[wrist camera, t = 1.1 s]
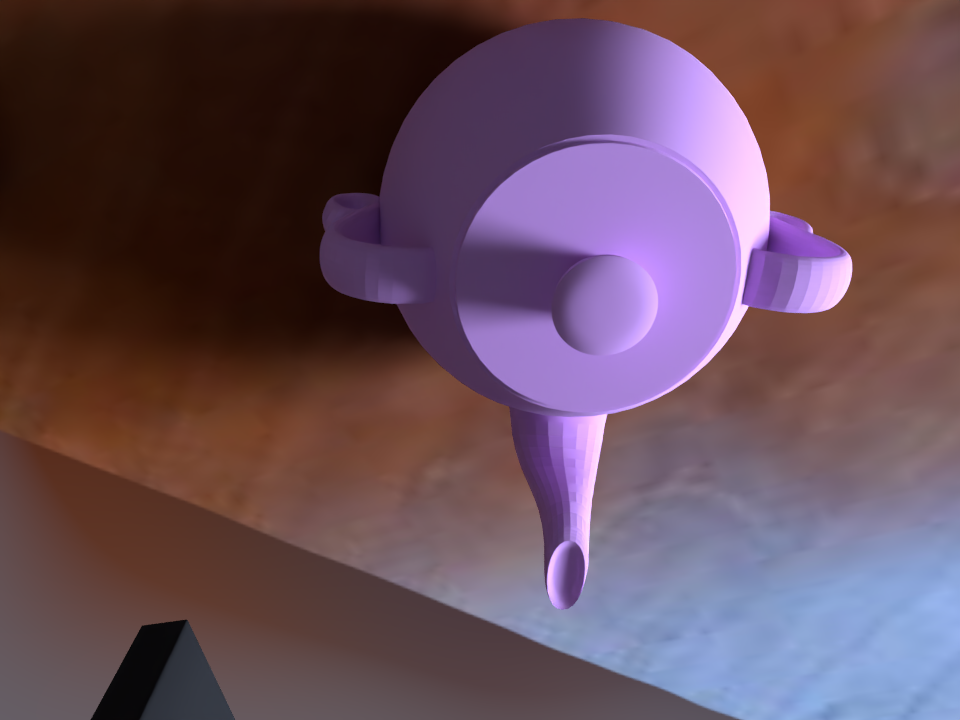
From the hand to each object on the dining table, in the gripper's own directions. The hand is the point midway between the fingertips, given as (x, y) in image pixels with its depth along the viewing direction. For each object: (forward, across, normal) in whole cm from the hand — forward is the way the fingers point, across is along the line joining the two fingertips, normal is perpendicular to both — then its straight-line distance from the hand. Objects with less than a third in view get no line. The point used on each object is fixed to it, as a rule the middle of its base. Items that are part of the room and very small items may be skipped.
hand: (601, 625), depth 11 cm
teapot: (+27, +2, -3) cm, 27 cm away
